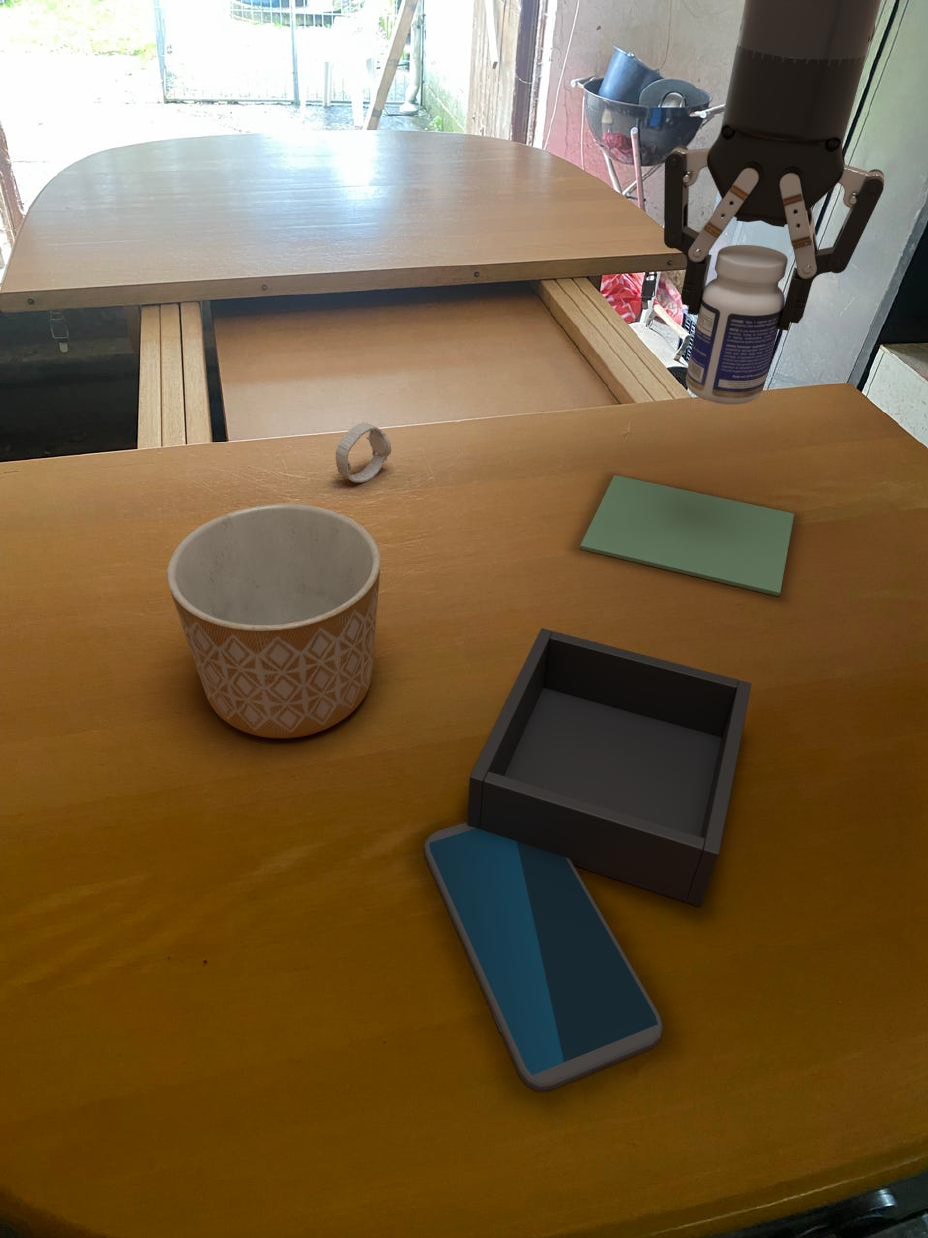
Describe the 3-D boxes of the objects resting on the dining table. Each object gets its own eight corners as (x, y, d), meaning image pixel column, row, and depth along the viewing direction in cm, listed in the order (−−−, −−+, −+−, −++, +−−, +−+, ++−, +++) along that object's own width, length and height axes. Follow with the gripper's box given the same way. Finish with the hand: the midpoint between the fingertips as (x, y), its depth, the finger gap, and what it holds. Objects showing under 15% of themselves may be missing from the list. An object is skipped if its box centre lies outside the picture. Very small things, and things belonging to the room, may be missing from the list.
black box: (734, 735, 60) (752, 682, 57) (700, 907, 50) (718, 854, 47) (535, 680, 63) (541, 627, 60) (466, 830, 53) (469, 776, 50)
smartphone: (537, 809, 55) (538, 799, 55) (670, 1043, 45) (673, 1034, 44) (418, 846, 53) (418, 836, 52) (528, 1102, 42) (529, 1094, 42)
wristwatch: (393, 472, 83) (392, 423, 80) (353, 494, 80) (350, 443, 77) (371, 461, 85) (369, 412, 82) (330, 482, 82) (327, 431, 79)
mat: (793, 517, 80) (794, 513, 80) (779, 596, 71) (780, 592, 71) (613, 478, 84) (614, 474, 84) (579, 549, 75) (580, 545, 75)
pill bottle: (772, 386, 70) (808, 252, 63) (745, 415, 66) (780, 275, 59) (701, 366, 72) (729, 234, 66) (671, 392, 68) (697, 256, 62)
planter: (227, 783, 55) (201, 655, 49) (172, 656, 64) (143, 532, 57) (416, 715, 60) (415, 590, 54) (341, 605, 69) (333, 485, 62)
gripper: (670, 39, 54) (628, 320, 64) (932, 63, 50) (841, 357, 61) (692, 23, 59) (649, 285, 70) (929, 44, 55) (846, 316, 66)
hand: (739, 317), depth 65 cm, fingers closed on pill bottle, 5 cm apart
